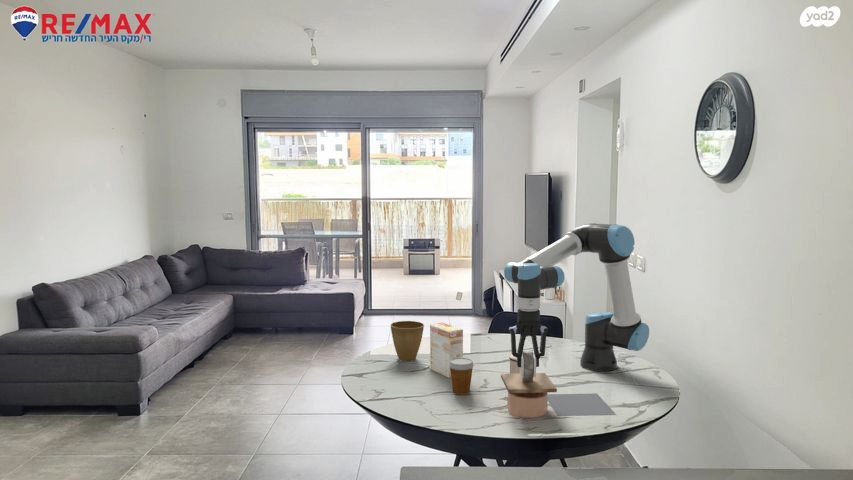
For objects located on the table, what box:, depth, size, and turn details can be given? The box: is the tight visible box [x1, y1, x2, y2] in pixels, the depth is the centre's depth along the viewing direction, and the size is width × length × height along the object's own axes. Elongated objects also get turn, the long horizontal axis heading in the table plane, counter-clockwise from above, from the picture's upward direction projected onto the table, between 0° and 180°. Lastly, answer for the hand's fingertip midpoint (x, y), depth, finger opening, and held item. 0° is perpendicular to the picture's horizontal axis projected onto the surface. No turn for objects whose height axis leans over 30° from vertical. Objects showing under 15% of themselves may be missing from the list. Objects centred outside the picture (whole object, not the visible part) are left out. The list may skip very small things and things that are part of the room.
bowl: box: [507, 391, 549, 418], centre depth 202 cm, size 13×13×7 cm
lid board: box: [500, 350, 558, 393], centre depth 201 cm, size 16×16×11 cm
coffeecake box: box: [429, 322, 464, 379], centre depth 243 cm, size 15×7×20 cm, turn 32°
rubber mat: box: [548, 392, 617, 417], centre depth 207 cm, size 20×20×1 cm
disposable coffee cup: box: [449, 357, 475, 395], centre depth 221 cm, size 10×10×12 cm
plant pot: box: [390, 320, 425, 363], centre depth 261 cm, size 15×15×16 cm
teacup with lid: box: [508, 353, 523, 374], centre depth 237 cm, size 12×9×12 cm
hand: (527, 375), depth 201 cm, fingers closed on lid board, 4 cm apart
